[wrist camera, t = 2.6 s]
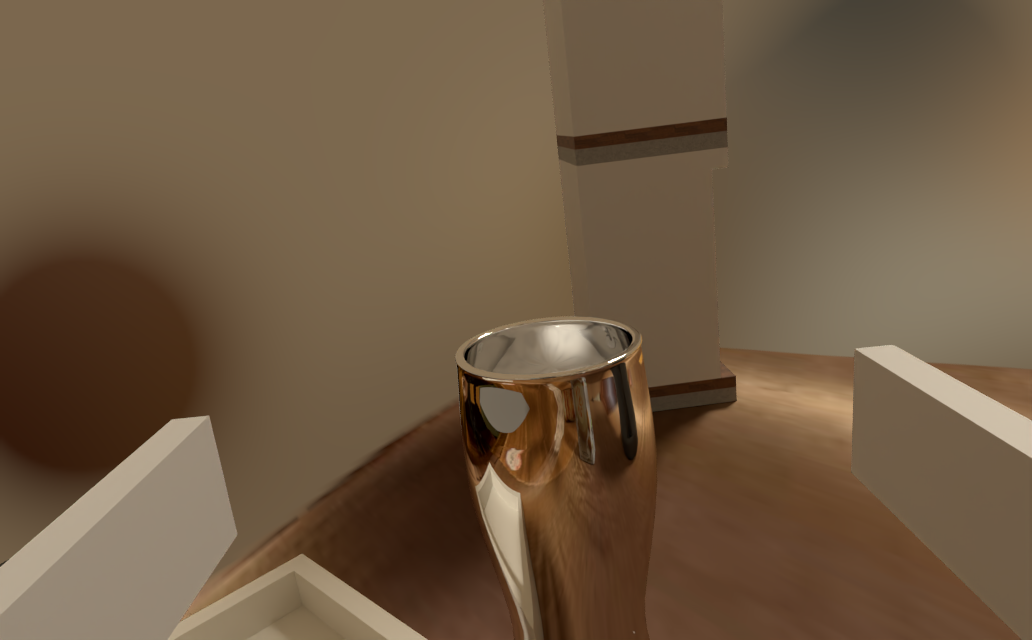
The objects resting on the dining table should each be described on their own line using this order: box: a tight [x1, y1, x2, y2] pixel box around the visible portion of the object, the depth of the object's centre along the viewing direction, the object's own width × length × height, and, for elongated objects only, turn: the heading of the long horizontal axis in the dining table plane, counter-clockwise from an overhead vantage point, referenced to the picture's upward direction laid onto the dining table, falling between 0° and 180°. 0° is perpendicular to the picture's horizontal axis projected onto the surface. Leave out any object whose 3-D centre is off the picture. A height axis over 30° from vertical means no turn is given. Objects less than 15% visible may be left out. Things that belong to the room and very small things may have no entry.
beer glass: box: [455, 316, 657, 640], centre depth 26 cm, size 7×7×15 cm
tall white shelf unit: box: [543, 0, 737, 412], centre depth 54 cm, size 11×11×35 cm
